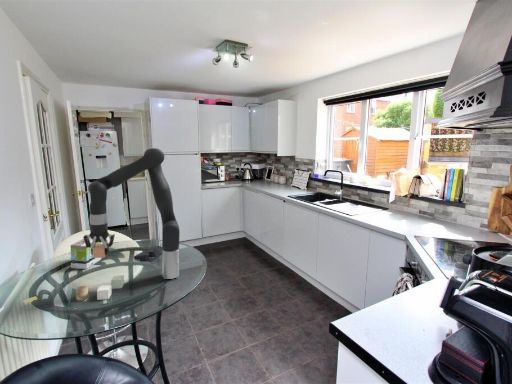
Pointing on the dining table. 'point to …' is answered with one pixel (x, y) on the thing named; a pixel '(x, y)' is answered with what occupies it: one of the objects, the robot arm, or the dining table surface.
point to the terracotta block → (99, 251)
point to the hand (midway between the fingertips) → (100, 254)
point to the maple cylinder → (81, 293)
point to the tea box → (82, 255)
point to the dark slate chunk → (149, 254)
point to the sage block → (117, 281)
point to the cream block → (104, 292)
